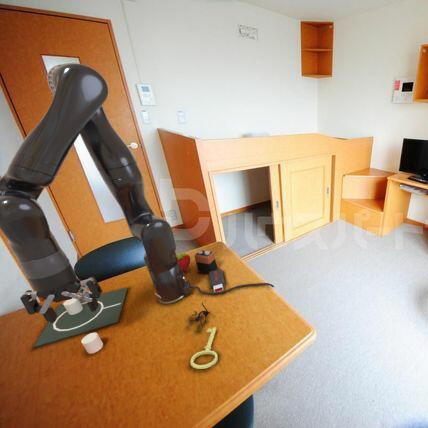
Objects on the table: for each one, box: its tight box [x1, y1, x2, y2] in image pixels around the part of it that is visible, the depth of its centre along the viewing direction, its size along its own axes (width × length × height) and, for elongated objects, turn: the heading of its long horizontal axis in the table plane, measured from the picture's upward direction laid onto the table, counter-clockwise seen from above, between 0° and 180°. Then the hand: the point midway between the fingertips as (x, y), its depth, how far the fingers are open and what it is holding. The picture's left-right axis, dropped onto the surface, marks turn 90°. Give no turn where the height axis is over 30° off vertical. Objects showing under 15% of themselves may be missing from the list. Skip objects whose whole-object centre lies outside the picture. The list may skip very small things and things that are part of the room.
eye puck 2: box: [80, 332, 104, 355], centre depth 70 cm, size 4×4×4 cm
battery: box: [194, 249, 218, 275], centre depth 102 cm, size 4×7×10 cm, turn 78°
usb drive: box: [208, 268, 226, 293], centre depth 97 cm, size 5×12×3 cm, turn 27°
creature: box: [185, 301, 210, 333], centre depth 79 cm, size 8×5×8 cm
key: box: [189, 326, 219, 370], centre depth 71 cm, size 7×12×2 cm, turn 23°
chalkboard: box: [33, 287, 129, 349], centre depth 82 cm, size 20×18×1 cm
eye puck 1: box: [62, 298, 83, 315], centre depth 82 cm, size 4×4×4 cm
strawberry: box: [176, 251, 191, 272], centre depth 102 cm, size 6×8×10 cm
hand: (75, 314), depth 66 cm, fingers open, 8 cm apart
